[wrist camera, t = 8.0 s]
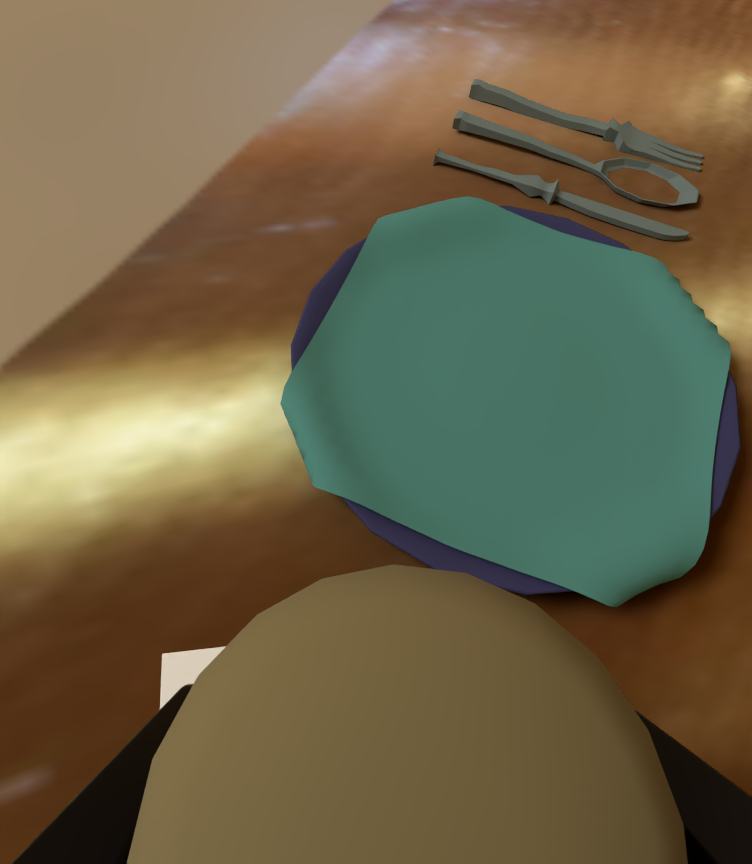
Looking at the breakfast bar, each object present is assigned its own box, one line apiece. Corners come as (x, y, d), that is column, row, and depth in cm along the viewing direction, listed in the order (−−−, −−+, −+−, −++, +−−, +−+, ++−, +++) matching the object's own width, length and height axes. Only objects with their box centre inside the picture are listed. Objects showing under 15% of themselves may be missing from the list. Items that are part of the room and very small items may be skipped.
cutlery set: (210, 491, 24) (199, 470, 22) (443, 88, 37) (449, 51, 35) (684, 688, 22) (720, 685, 20) (753, 184, 35) (779, 151, 33)
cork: (390, 591, 16) (451, 378, 6) (549, 789, 14) (1009, 937, 4) (200, 746, 14) (-143, 795, 4) (352, 1002, 12) (351, 2154, 2)
